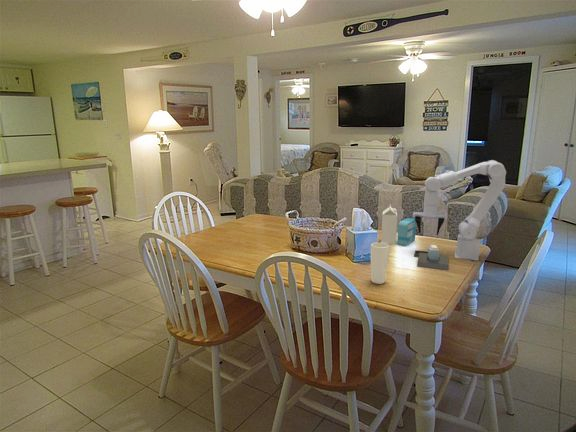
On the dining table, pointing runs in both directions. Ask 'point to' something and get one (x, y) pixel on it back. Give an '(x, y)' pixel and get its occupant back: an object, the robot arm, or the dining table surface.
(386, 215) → the milk carton
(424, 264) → the port block
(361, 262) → the dining table surface
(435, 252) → the plug
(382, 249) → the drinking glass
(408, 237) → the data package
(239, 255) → the dining table surface
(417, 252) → the square shadow box
